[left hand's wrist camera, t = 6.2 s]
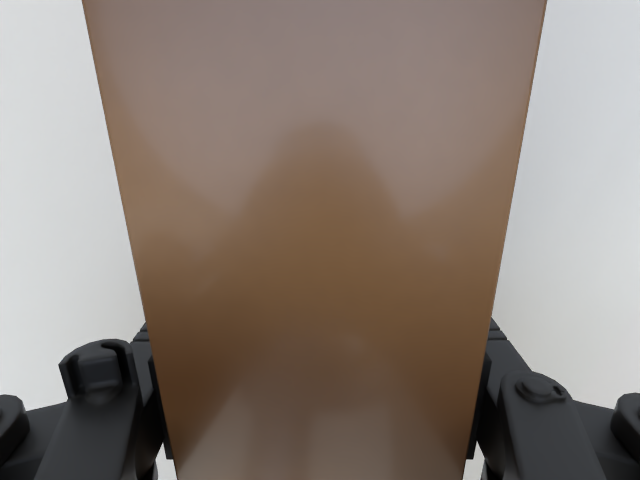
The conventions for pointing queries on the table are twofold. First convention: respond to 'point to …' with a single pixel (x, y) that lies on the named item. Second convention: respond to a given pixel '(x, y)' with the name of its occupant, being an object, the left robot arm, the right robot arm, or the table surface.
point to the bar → (316, 220)
